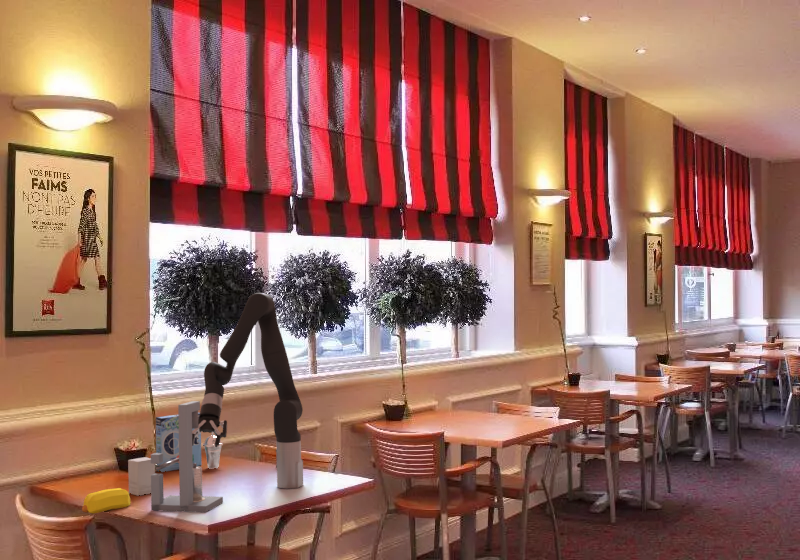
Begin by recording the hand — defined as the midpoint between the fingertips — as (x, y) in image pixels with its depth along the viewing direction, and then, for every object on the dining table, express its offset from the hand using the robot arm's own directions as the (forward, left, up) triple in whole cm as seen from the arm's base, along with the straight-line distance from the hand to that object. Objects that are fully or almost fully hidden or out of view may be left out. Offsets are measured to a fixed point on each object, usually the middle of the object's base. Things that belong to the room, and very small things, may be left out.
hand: (204, 445), depth 310 cm
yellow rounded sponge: (+28, +19, -20) cm, 39 cm away
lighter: (-9, -61, -19) cm, 65 cm away
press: (+1, +12, -19) cm, 23 cm away
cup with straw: (+21, -55, -19) cm, 62 cm away
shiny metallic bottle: (-1, +10, -17) cm, 20 cm away
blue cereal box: (+36, -53, -19) cm, 67 cm away
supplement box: (+28, -6, -19) cm, 35 cm away
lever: (+10, +8, -7) cm, 14 cm away
